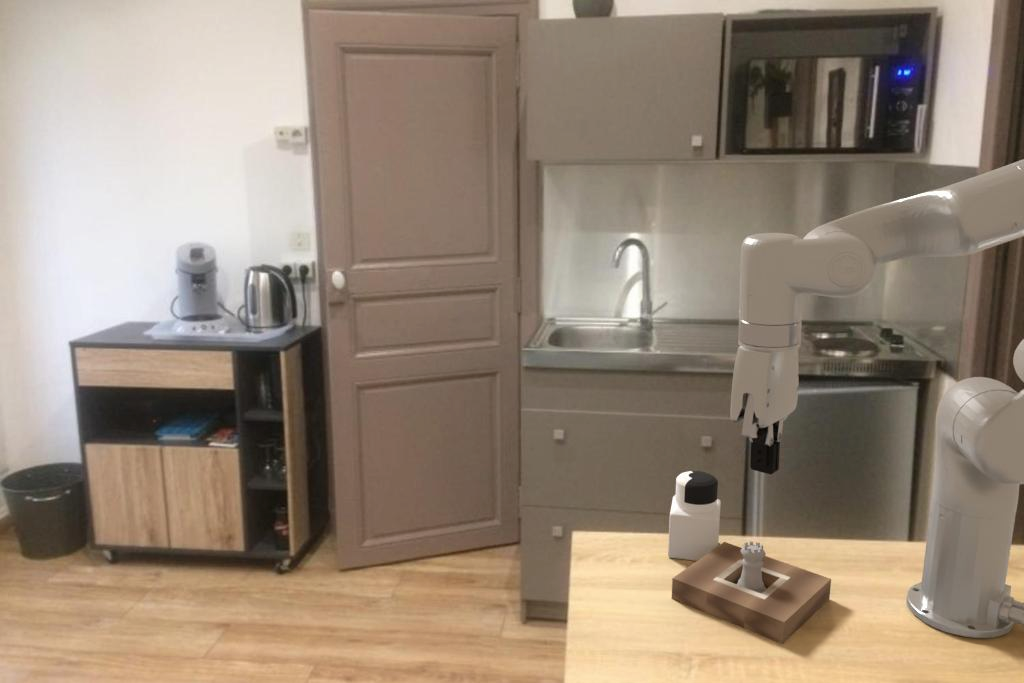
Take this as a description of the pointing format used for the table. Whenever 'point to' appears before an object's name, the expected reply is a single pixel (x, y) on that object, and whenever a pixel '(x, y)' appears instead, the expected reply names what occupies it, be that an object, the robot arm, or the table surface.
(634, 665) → the table surface
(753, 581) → the rook chess piece
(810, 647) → the table surface
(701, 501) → the medicine bottle
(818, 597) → the board
